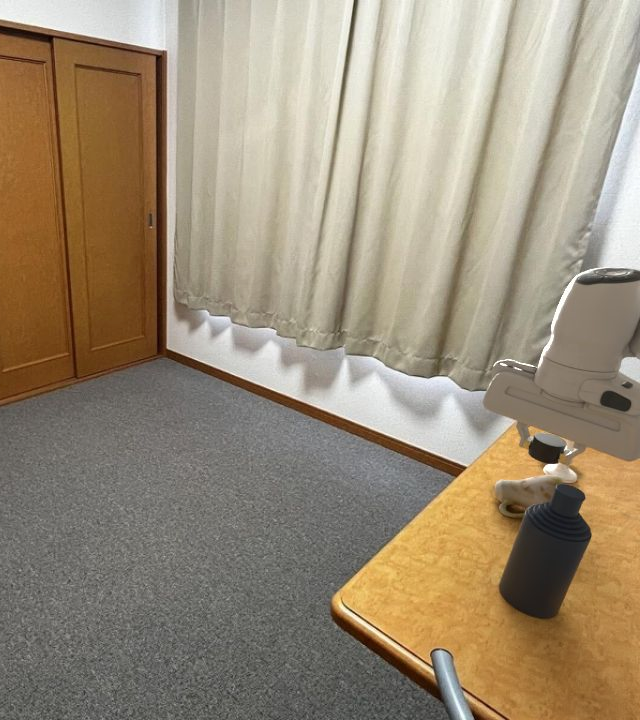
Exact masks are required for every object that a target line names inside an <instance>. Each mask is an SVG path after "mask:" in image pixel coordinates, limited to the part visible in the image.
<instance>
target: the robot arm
mask: <svg viewBox="0 0 640 720" xmlns="http://www.w3.org/2000/svg"><path fill="white" fill-rule="evenodd" d="M550 330H551V334H550V339H549V341H548V343H547V344H546V345H545V347H544V348H543V349H542V353H541V355H540V359H539V361H538V365H537V366H534V365H531V364H527V363H522V362H518V361H516V360H513V359H510V358H508V359H505V360H498V361H496V362H495V363H494V364H493V365H492V370H491V372H490V378H491V381H490V383H489V384H488V387H487V388H486V391H485V393H484V395H483V397H482V405H483V408H484V409H485V410H487V411H489V412H492V413H494V414H496V415H499V416H503V417H505V418H507V419H511V420H514V421H516V426H515V428H516V430H517V432H518V435H519V438H520V440H519V443H518V447H519V448H522V449H525V450H527V451H529V448H530V445H531V443H532V440H533V437H534V436H531V434H530V431H529V428H530V427H532V428H535V429H538V430H540V431H544V432H545V433H548V434H552V435H555V436H558V437H560V438H562V439H564V440H566V439H567V440H570V441H573V442H575V443H574V446H573V448H575V450H573V451H571V452H570V451H568V450H564V452H562V453H560V455H559V459H558V461H557V462H559V463H562V464H564V465H567V466H569V467H570V466H571V465H572V464H573V462H574V460H575V457H577V456H579V455H581V454H583V453H584V452H586V451H587V450H588V449H591V450H595V451H597V452H601V453H602V454H606V455H608V456H611V457H614V458H616V459H619V460H622V461H624V462H627V463H628V462H629V463H630V462H634V461H637V460H639V459H640V382H639V381H636V380H635V379H633V378H631V377H629V376H627V375H626V374H624V373H622V372H620V369H621V367H622V361H623V360H624V359H626V358H636V359H637V360H640V270H639V269H635V268H629V267H613V266H612V267H611V266H609V267H597V268H591V269H588V270H585V271H582V272H580V273H579V274H578V273H577V275H576V276H575V277H574V278H573V279H572V280H571V281H570V283H569V284H568V286H567V287H566V288H565V291H564V293H563V294H562V296H561V299H560V301H559V304H558V305H557V308H556V311H555V314H554V316H553V320H552V323H551V327H550ZM567 440H566V441H567Z"/></svg>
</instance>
